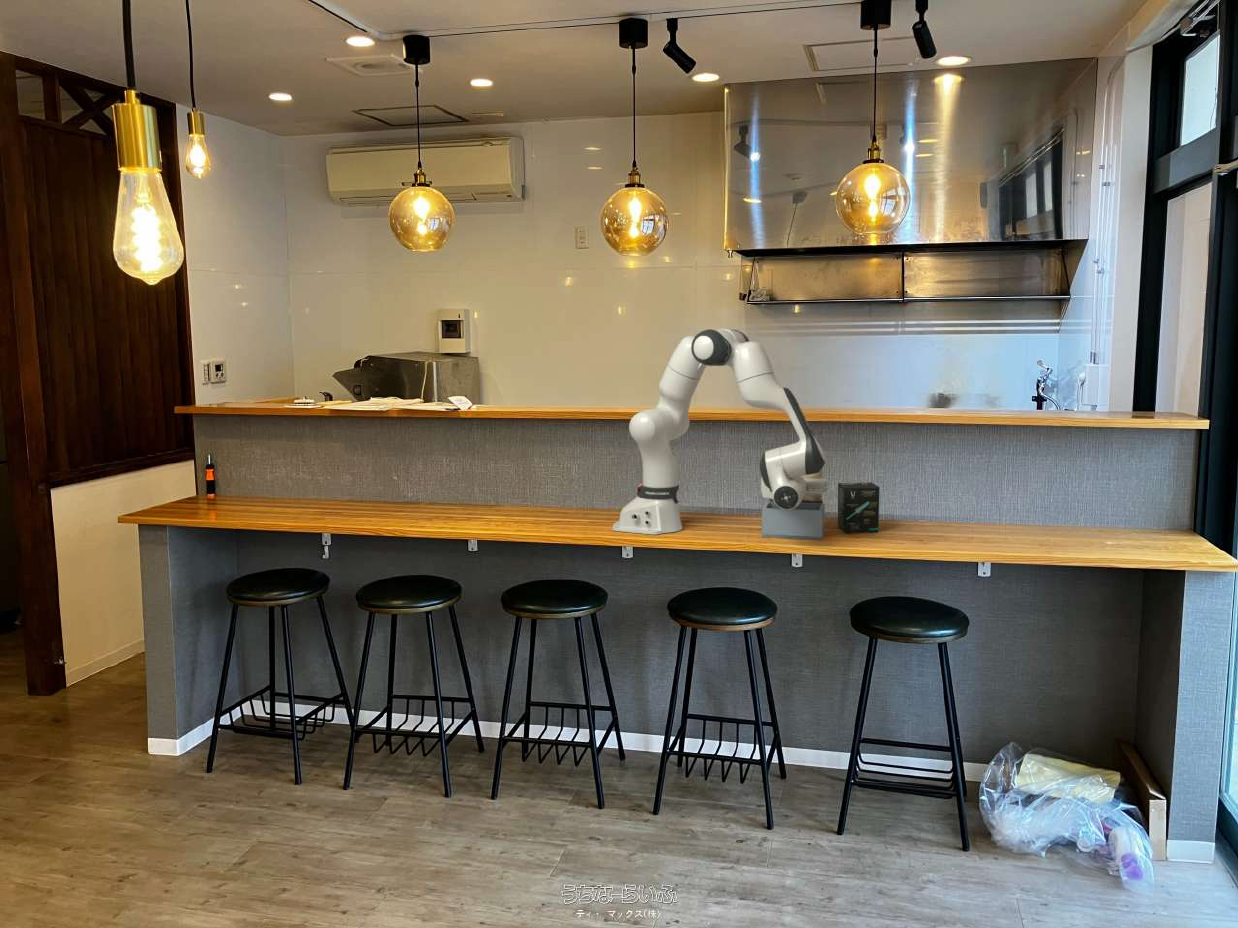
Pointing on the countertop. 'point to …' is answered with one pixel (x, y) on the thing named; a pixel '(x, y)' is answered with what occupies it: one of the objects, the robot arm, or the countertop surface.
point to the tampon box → (858, 507)
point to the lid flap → (811, 497)
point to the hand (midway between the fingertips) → (795, 480)
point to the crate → (793, 521)
